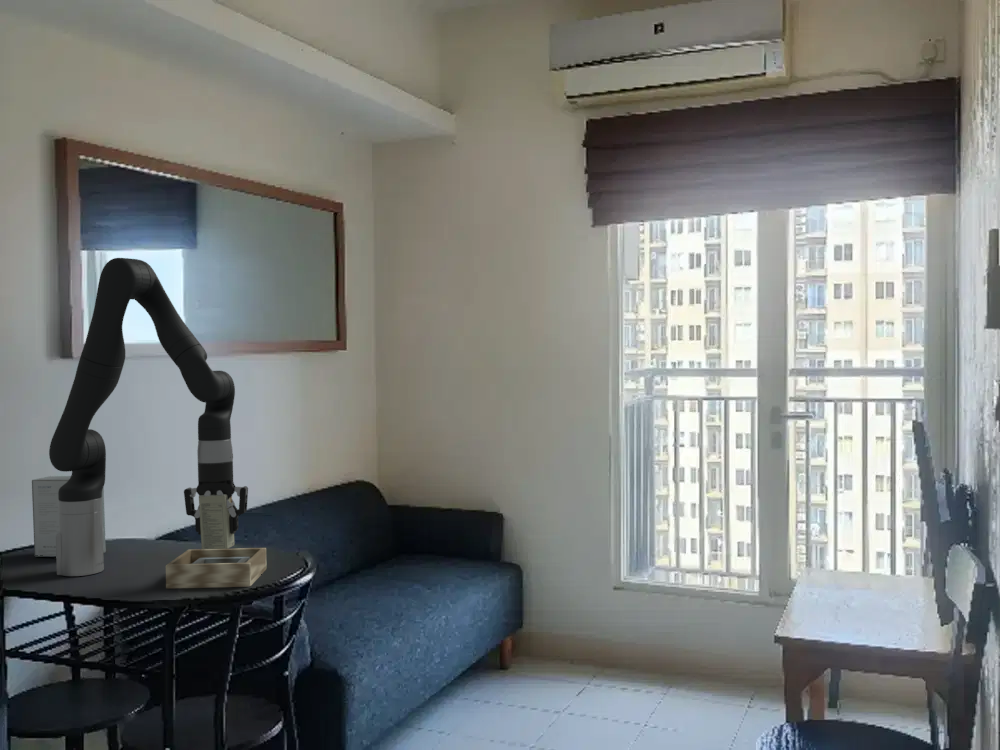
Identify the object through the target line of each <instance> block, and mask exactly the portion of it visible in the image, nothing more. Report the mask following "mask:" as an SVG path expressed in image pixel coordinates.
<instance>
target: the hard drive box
mask: <svg viewBox="0 0 1000 750" xmlns="http://www.w3.org/2000/svg"><path fill="white" fill-rule="evenodd" d="M70 477H71V475H57V476H56V475H52V476H51V475H50V476H49V475H48V476H45V477H40V478H36V479H32V480H31V496H32V498H31V499H32V500H31V501H32V520H33V525H32V527H33V546H34V547H33V549H34V550H33V552H34V556H35V555H38V556H40V555H43V556H56V534H57V533H59V500H58V491H59V489H60V487H62V486H63V485H64V484H65V483H66V482H68V480H69V479H70ZM104 487H105V486H104ZM104 487H103V489H102V520H103V554H104V553H106V552H107V549H106V548H107V544H106V519H105V518H106V517H105V496H104V492H105V490H104Z"/></svg>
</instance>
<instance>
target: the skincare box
mask: <svg viewBox="0 0 1000 750" xmlns="http://www.w3.org/2000/svg"><path fill="white" fill-rule="evenodd" d="M226 498H227V499H228V497H227V494H224V495H217V494H215V495H210V496H207V497H205V496H204V495H200V496H199V495H198V505H199V504H200V507H199V510H200V527H201V535H200V539H201V540H200V541H201V542H200V543H201V549H231V548H232V547H233V546H235V533H234V534H231V533H230V517H231V515H230V513H229V511H228V509H227V503H226ZM232 500H233V495H232V496H231V498H229V499H228V501H229V502H230V503H231V502H232Z"/></svg>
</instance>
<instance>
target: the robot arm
mask: <svg viewBox="0 0 1000 750" xmlns="http://www.w3.org/2000/svg"><path fill="white" fill-rule="evenodd" d="M149 264H150V263H148V262H147V261H144V260H141V259H137V258H128V257H127V258H126V257H113V258H112V259H110V260H108V261H107V262H106V263H105V264H104V266H103V268H102V270H101V272H100V276H99V279H98V280H99V281H98V284H97V291H96V295H95V302H94V309H93V311H92V312H93V313H92V316H91V320H90V324H89V327H88V330H87V334H86V339H85V342H84V344H83V347H82V348H83V349H82V351H81V353H80V357H79V360H78V364H77V368H76V371H75V376H74V379H73V382H72V385H71V388H70V392H69V394H68V398H67V401H66V403H65V406H64V409H63V411H62V414H61V417H60V419H59V422H58V423H57V426H56V429H55V431H54V433H53V435H52V438H51V441H50V444H49V451H48V455H49V460H50V463H51V465H52V466H53V467H54V469H55V470H57V471H58V472H59V471H60V472H64V473H65V472H66V473H67V472H71V475H70V476H71V477H70V479H69V480H68V482H66V483H65V484H64V485H63V486H62V487H60V489H59V491H58V500H59V533H57V534H56V558H55V559H56V560H55V562H56V576H65V577H80V576H90V575H95V574H98V573H101V572H103V571H104V568H105V566H104V565H105V564H104V563H105V561H104V560H105V559H104V553H103V520H102V489H103V487H105V484H106V468H107V467H106V465H107V464H106V462H107V451H106V443H105V441H104V439H103V436H102V435H101V434H100V433H99V432H98V431H96V430H95V429H89V427H90V426H91V422H92V420H93V418H94V417H95V415H96V413H97V412H98V411H99V409H100V408H101V407H102V405H103V404H104V403H105V402H106V401H107V400H108V399H109V397H110V396H111V394H112V393H113V392H114V390H115V389H116V387H117V385H118V384H119V382H120V381H119V380H120V378H121V375H122V371H123V368H124V366H125V365H124V364H125V361H126V346H125V339H124V333H123V331H124V330H123V323H124V320H125V319H124V318H125V315H126V311H127V308H128V306H129V303H130V302H131V300H135V301H136V302H137V303H138V304H139V305H140V306H141V307H142V308H143V309H144V310H145V311H146V312H147V314H148V315H149V317H150V319H151V320H152V323H153V324H154V325H153V326H154V329H155V331H156V335H157V338H158V340H159V344H160V345H161V347H162V349H163V350H164V351H165V352H166V354H167V355H168V357H169V358H170V359H171V360H172V361H173V363H174V364H175V365H176V366H177V368H178V369H179V372H180V374H181V376H182V379H183V380H184V383H185V385H186V387H187V389H188V390H189V392H190V393H191V394H192V396H193V397H195V399H197V400H198V401H200V402H202V403H205V405H204V412H203V413H202V414H201V415H200V416H199V417H198V420H197V440H198V441H197V443H198V444H197V450H196V451H197V453H196V454H197V478H198V479H197V483H198V485H197V487H187V488H186V489H184V490H183V497H184V504H185V505H184V507H185V514H186V515H187V516H191V517H193V518H194V520H195V521H194V523H195V524H194V525H195V527H194V529H195V532H196V533H198V535H199V536H201V527H200V510H199V507H200V504H199V503H198V507H197V509H196V508H195V501H194V498H195V497H196V494H198V497H199V496H200V495H204V496H205V497H207V496H210V495H215V494H217V495H224V494H227V497H228V499H229V498H231V496H232V497H233V495H234V494H235V492H236V495H237V497H239V501H238V502H239V503H238V508H237V506H236V504H235V502H234V500H233V499H232V502H231V503H230V502H229V501H228V499H227V498H226V503H227V509H228V511H229V513H230V515H231V517H230V533H231V534H234V535H235V534H236V532H237V531H238V530H239V528H240V527H239V524H240V523H239V516H240V515H243V514H244V513H246V512H247V511H248V496H249V495H248V494H249V488H248V486H246V485H245V486H236V485H235V482H234V464H233V463H234V461H233V460H234V452H233V446H232V445H233V444H232V434H231V433H232V431H231V430H232V429H231V417H232V413H233V409H234V408H233V406H234V403H235V396H236V391H235V390H236V389H235V388H236V386H235V383H234V380H233V378H232V376H231V375H230V374H229V373H228V372H226V371H223V370H213V369H212V368H211V367H210V365H209V364H208V363H207V359H208V353H207V351H206V349H205V347H204V346H203V345H202V343H200V342H199V340H198V339H197V338H196V336H195V334H193V332H192V331H191V330H190V329H189V327H188V326H187V324H186V323H185V322H184V320H183V318H182V317H181V316H180V314H179V313H178V311H177V309H176V308H175V306H174V304H173V303H172V301H171V299H170V297H169V295H168V294H167V292H166V290H165V289H164V287H163V285H162V282H161V280H160V279H159V276H158V275H157V274H156V272H155V271H154V269H153V268H152V266H151V265H149Z"/></svg>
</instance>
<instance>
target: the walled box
mask: <svg viewBox="0 0 1000 750" xmlns="http://www.w3.org/2000/svg"><path fill="white" fill-rule="evenodd" d="M267 566H268V565H267V547H244V548H243V547H242V548H240V547H239V548H238V547H237V548H228V549H202V548H201V549H198V548H197V549H190V548H189V549H187V550H186V551H184V552H183V553H181V554H180V555H179V556H177V557H176V558H174V559H173V560H171V561H169V563H167V564H166V565H165V589H203V588H243V587H244V588H245V587H246V588H247V587H252V585H253V584H254V583H255V582H257V580H258V579H259V578H260V577H261V576H262V575H263V573H264V572H266V571H267ZM261 574H262V575H261Z"/></svg>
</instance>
